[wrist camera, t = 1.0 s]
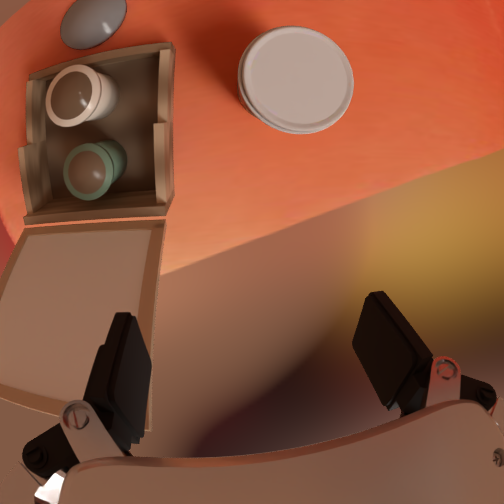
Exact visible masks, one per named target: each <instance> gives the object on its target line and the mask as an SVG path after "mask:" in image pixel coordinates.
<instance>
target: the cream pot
mask: <svg viewBox="0 0 504 504" xmlns="http://www.w3.org/2000/svg"><path fill="white" fill-rule="evenodd" d="M119 98H120V89H119V85H118V83H117V82H116V80H115V79H114V78H112V77H110V76H108V75H105V74H101V73H98V72H96V71H95V70H94V69H92V68H90V67H88V66H85V65H72V66H69V67H67V68H65V69H64V70H62V71H61V72H60V73H59V74H58V75H57V76H56V77H55V78H54V79H53V81H52V82H51V84H50V86H49V89H48V91H47V95H46V110H47V113H48V116H49V117H50V119H51V120H52V121H53V122H54V123H55V124H57V125H59V126H63V127H70V126H75V125H78V124H81V123H82V122H84V121H92V120H100V119H103V118H105V117H107V116H108V115H109V114H111V113H112V112H113V110H114V109H115V108H116V106H117V104H118V101H119Z"/></svg>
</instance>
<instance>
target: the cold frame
mask: <svg viewBox="0 0 504 504" xmlns="http://www.w3.org/2000/svg"><path fill="white" fill-rule="evenodd" d="M175 51H176V49H175V47H174V46H173V44H172V42H165V43H155V44H147V45H140V46H133V47H127V48H121V49H116V50H111V51H106V52H101V53H97V54H93V55H89V56H85V57H81V58H77V59H74V60H70V61H67V62H64V63H61V64H58V65H54V66H52V67H49V68H46V69H43V70H40V71H38V72H35V73H32V74H30V75H29V81H28V82H27V84H26V136H27V145H26V146H23V147H20V148H18V156H19V166H20V174H21V181H22V188H23V194H24V199H25V205H26V210H27V215H26V216H24V217H23V219H24V223H25V225H33V224H43V223H55V222H67V221H80V220H95V219H111V218H129V217H150V216H166V214H167V212H168V209H169V207H170V205H171V202H172V200H173V198H174V196H175V195H174V169H173V92H174V68H175ZM72 65H85V66H88V67H90V68H92V69H94V70H95V71H96V72H98V73H101V74H105V75H108V76H110V77H112V78H114V79H115V80H116V82H117V83H118V85H119V89H120V98H119V101H118V104H117V106H116V108H115V109H114V110H113V112H112V113H111V114H109V115H108V116H107V117H105V118H103V119H100V120H92V121H84V122H82V123H81V124H78V125H75V126H70V127H63V126H59V125H57V124H55V123H54V122H53V121H52V120H51V119H50V117H49V116H48V113H47V110H46V95H47V91H48V89H49V86H50V84H51V82H52V81H53V79H54V78H55V77H56V76H57V75H58V74H59V73H60V72H61V71H62V70H64V69H65V68H67V67H69V66H72ZM104 140H114V141H116V142H118V143H120V144H121V145H122V146H123V148H124V149H125V151H126V154H127V159H128V162H127V168H126V170H125V172H124V174H123V175H122V176H121V177H120V178H119V179H118V180H116V181H115V182H114V183H112V184H111V186H110V188H109V189H108V190H107V191H106V192H105V193H104V194H103V195H102V196H100V197H99V198H97V199H94V200H82V199H79V198H77V197H75V196H74V195H73V194H72V193H71V192H70V191H69V189H68V188H67V186H66V184H65V181H64V176H63V168H64V163H65V160H66V158H67V156H68V155H69V153H70V152H71V151H72V150H73V149H74V148H76V147H77V146H79V145H82V144H86V143H97V142H101V141H104Z"/></svg>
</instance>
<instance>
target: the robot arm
mask: <svg viewBox="0 0 504 504" xmlns="http://www.w3.org/2000/svg"><path fill="white" fill-rule="evenodd" d="M352 345H353V349H354V350H355V353H356V354H357V356H358V358H359V360H360V362H361V364H362V366H363V368H364V369H365V372H366V374H367V375H368V377H369V379H370V381H371V383H372V385H373V387H374V389H375V391H376V393H377V395H378V397H379V399H380V401H381V403H382V405H383V406H386V407H387V409H388V411H390V410H393V409H396V408H398V407H400V409H401V414H400V418H399V419H396V420H393V421H390V422H388V423H385V424H382V425H380V426H377V427H374V428H371V429H368V430H365V431H361V432H358V433H355V434H351V435H348V436H345V437H341V438H337V439H333V440H329V441H325V442H321V443H317V444H312V445H308V446H303V447H298V448H292V449H287V450H281V451H274V452H267V453H260V454H251V455H242V456H230V457H213V458H158V457H134V456H133V455H132V454H131V453H130V451H129V450H130V448H131V443H134V444H139V441H140V437H141V438H142V437H144V431H145V420H146V410H147V401H148V393H149V385H150V378H151V371H152V362H151V359H150V356H149V353H148V351H147V348H146V345H145V342H144V339H143V337H142V334H141V331H140V328H139V325H138V322H137V319H136V316H132V315H131V313H130V312H116V313H115V315H114V318H113V321H112V323H111V326H110V329H109V332H108V335H107V338H106V341H105V344H103V345H100V346H99V348H98V351H97V354H96V357H95V360H94V363H93V366H92V369H91V373H90V376H89V379H88V382H87V386H86V389H85V393H84V396H83V400H73V401H70V402H68V403H67V404H65V405H64V406H63V408H62V409H61V412H60V414H59V421H60V423H59V424H57V425H55V426H54V427H52V428H50V429H49V430H47V431H46V432H44V433H43V434H41V435H39V436H38V437H36V438H34V439H33V440H31V441H29V442H28V443H27V444H26V445H25V447H24V449H23V453H22V458H23V461H22V463H20V462H19V461H18V462H17V463H16V465H15V466H14V467H13V468H12V470H11V471H10V472H9V473H8V475H7V476H6V477H5V478H4V480H3V481H2V482H1V483H0V504H57V503H58V504H504V399H502V398H501V397H498V398H497V397H496V392H495V390H494V389H493V387H492V386H491V385H490V384H488V383H485V382H482V381H479V380H476V379H473V378H470V377H467V376H464V375H461V371H460V368H459V366H458V364H457V363H456V362H455V361H454V360H453V359H451V358H449V357H444V356H442V357H438V358H436V359H435V360H433V359H432V356H433V354H432V353H431V352H430V350H429V349H428V348H427V346H426V345H425V344H424V342H423V341H422V339H421V338H420V337H419V336H418V334H417V333H416V331H415V330H414V329H413V327H412V326H411V325H410V324H409V322H408V321H407V320H406V318H405V317H404V316H403V315H402V313H401V312H400V311H399V310H398V308H397V307H396V306H395V304H394V303H393V302H392V301H391V300H390V298H389V297H388V296H387V295H386V293H384V291H377V292H371V293H370V294H369V295H368V296H367V297H366V298H365V302H364V305H363V309H362V312H361V315H360V319H359V322H358V325H357V328H356V331H355V335H354V338H353V341H352Z"/></svg>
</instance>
